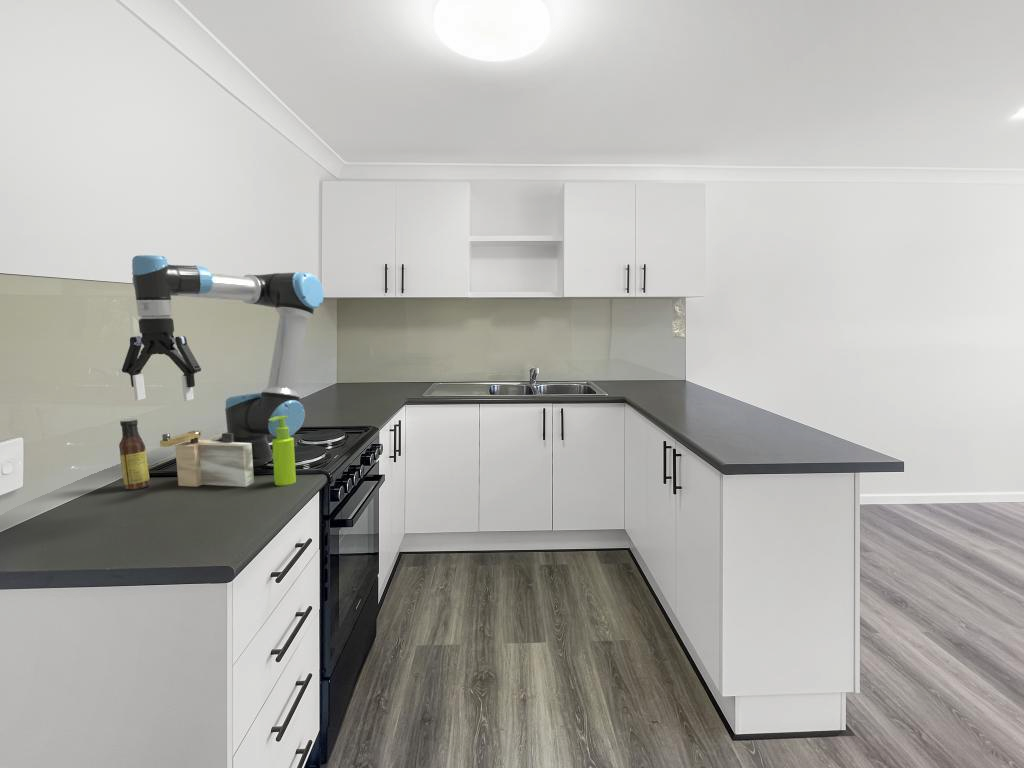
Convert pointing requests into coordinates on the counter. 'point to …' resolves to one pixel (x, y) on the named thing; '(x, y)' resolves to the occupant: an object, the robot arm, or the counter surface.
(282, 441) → the soap dispenser
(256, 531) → the counter surface
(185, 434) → the swing bar
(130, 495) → the counter surface
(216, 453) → the door frame
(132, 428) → the sauce bottle
